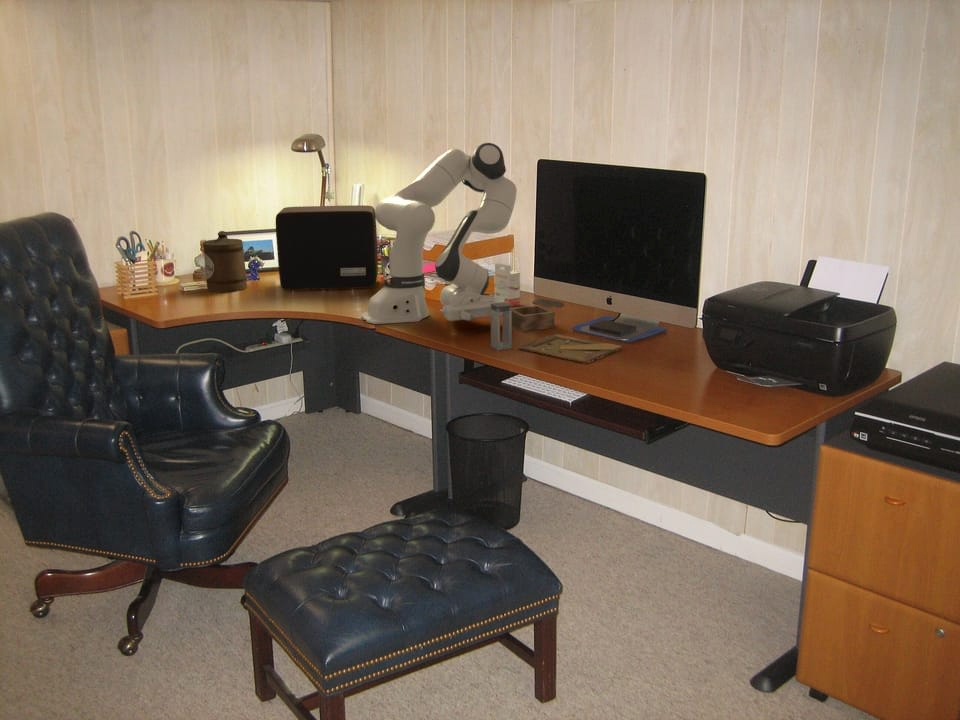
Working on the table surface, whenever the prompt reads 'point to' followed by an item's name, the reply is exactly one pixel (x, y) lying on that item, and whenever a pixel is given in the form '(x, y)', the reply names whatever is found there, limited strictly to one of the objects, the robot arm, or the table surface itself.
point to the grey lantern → (507, 326)
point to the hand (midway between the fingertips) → (485, 315)
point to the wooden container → (224, 264)
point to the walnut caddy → (532, 318)
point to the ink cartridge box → (507, 284)
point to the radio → (327, 247)
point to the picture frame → (571, 348)
